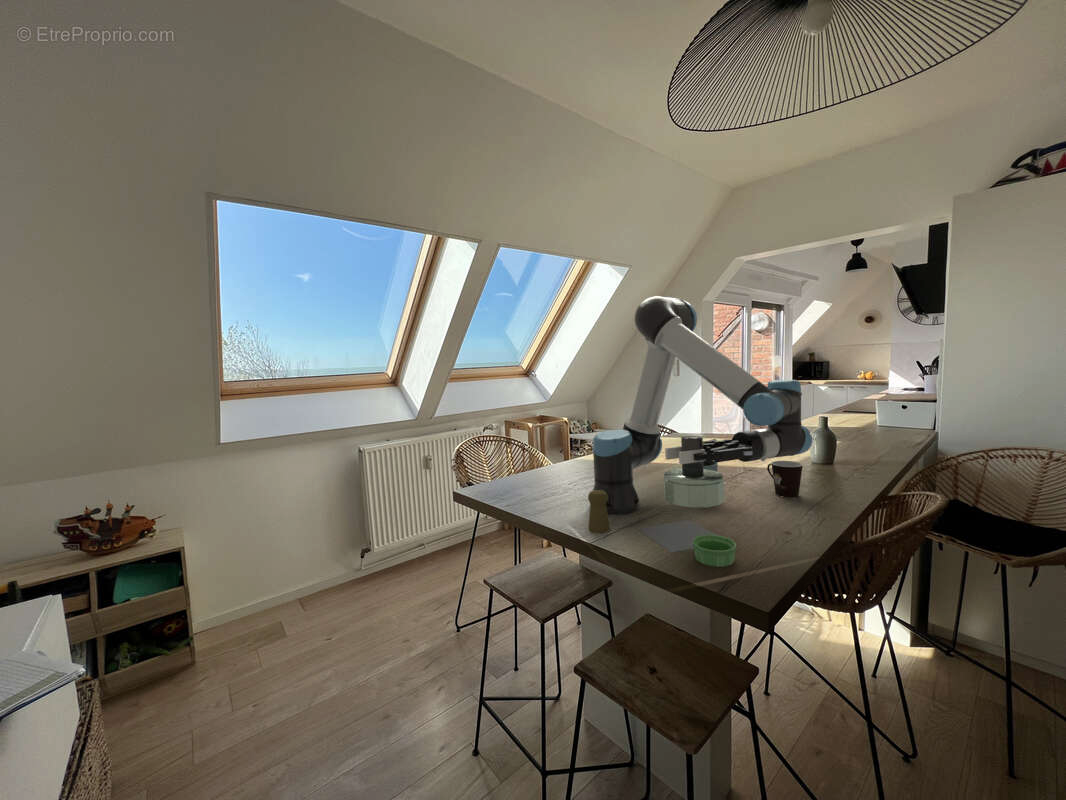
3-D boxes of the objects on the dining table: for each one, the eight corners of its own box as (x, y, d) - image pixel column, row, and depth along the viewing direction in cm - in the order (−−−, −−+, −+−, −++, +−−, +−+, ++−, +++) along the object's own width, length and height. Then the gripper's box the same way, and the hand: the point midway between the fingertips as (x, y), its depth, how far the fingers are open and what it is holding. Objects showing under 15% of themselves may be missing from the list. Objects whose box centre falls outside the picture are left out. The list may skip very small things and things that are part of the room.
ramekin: (687, 553, 105) (687, 535, 104) (726, 552, 104) (726, 533, 104) (700, 571, 96) (700, 551, 95) (743, 570, 95) (743, 550, 95)
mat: (636, 531, 119) (636, 528, 119) (688, 522, 124) (688, 519, 124) (671, 555, 104) (671, 552, 104) (729, 543, 108) (729, 541, 108)
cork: (585, 527, 123) (584, 488, 122) (607, 526, 124) (606, 487, 123) (590, 536, 117) (588, 495, 116) (613, 534, 118) (611, 493, 117)
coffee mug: (807, 499, 137) (807, 466, 136) (776, 498, 139) (776, 467, 138) (793, 488, 148) (793, 458, 148) (765, 487, 150) (764, 458, 149)
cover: (654, 495, 112) (652, 436, 111) (699, 487, 116) (697, 431, 115) (687, 510, 100) (685, 445, 99) (736, 502, 104) (734, 438, 102)
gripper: (783, 467, 104) (697, 480, 97) (728, 453, 121) (652, 464, 114) (782, 435, 103) (696, 446, 97) (728, 426, 120) (651, 435, 114)
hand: (673, 455), depth 106 cm, fingers closed on cover, 5 cm apart
